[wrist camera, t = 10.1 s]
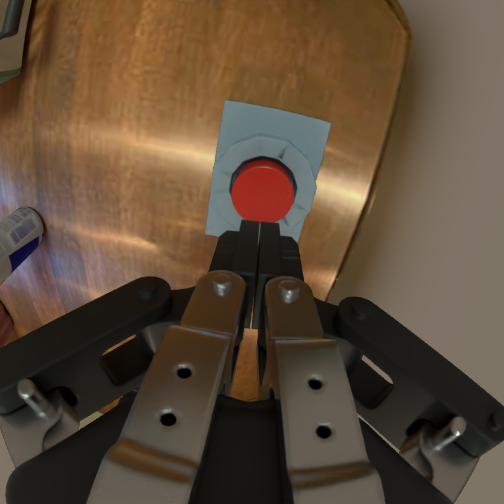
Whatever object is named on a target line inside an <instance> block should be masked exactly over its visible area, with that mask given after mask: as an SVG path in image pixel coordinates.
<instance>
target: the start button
mask: <svg viewBox="0 0 504 504" xmlns="http://www.w3.org/2000/svg"><path fill="white" fill-rule="evenodd" d="M231 197H232V203H233V206H234V208H235V209H236V211H237V212H238V213H239V215H240V216H242V217H243V218H244V219H246V220H252V221H260V222H259V224H261V221H263V222H273V223H274V222H277V221H279V220H280V219H282V218H283V217H284V216H285V215H286V214H287V213H288V212H289V210H290V209H291V207H292V204H293V200H294V191H293V187H292V183H291V179H290V177H289V175H288V173H287V172H286V170H285V169H284V168H283V167H282V166H280V165H279V164H277V163H275V162H273V161H269V160H257V161H253V162H251V163H249V164H247V165H246V166H244V167H243V168H242V169H241V170H240V172H239V173H238V175H237V177H236V180H235V182H234V185H233V188H232V193H231Z"/></svg>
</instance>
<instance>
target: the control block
mask: <svg viewBox="0 0 504 504" xmlns="http://www.w3.org/2000/svg"><path fill="white" fill-rule="evenodd" d="M330 127H331V123H330V122H328V121H325V120H322V119H319V118H315V117H311V116H307V115H303V114H299V113H295V112H291V111H287V110H282V109H278V108H273V107H268V106H263V105H257V104H252V103H246V102H240V101H233V100H226V101H225V103H224V108H223V114H222V119H221V125H220V131H219V137H218V143H217V150H216V156H215V163H214V167H213V173H212V180H211V188H210V198H209V206H208V213H207V221H206V230H205V234H208V235H213V236H218V237H219V236H220V235H222V234H223V233H224V232H225V231H227V230H230V231H239V229H240V224H241V219H242V220H246V219H244V218H243V217H242V216H240V215H239V213H238V212H237V211H236V209H235V208H234V206H233V203H232V197H231V193H232V188H233V185H234V182H235V180H236V177H237V175H238V173H239V172H240V170H241V169H242V168H243V167H244V166H246V165H247V164H249V163H251V162H253V161H257V160H269V161H273V162H275V163H277V164H279V165H280V166H282V167H283V168H284V169H285V170H286V172H287V173H288V175H289V177H290V179H291V183H292V187H293V191H294V200H293V204H292V207H291V209H290V210H289V212H288V213H287V214H286V215H285V216H284V217H283V218H282V219H280V220H279V221H277V222H274V223H279V225H280V235H281V236H291V237H292V238H293V239H294V240H295V241H296V242H297V243H298V240H299V236H300V233H301V230H302V227H303V223H304V220H305V217H306V215H307V214H308V213H309V212H310V209H311V206H312V203H313V199H314V196H315V192H316V189H317V188H316V187H317V185H316V179H317V175H318V172H319V168H320V165H321V161H322V157H323V154H324V150H325V146H326V142H327V139H328V135H329V131H330ZM260 226H261V224H259V235H260ZM258 244H259V238H258Z"/></svg>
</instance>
